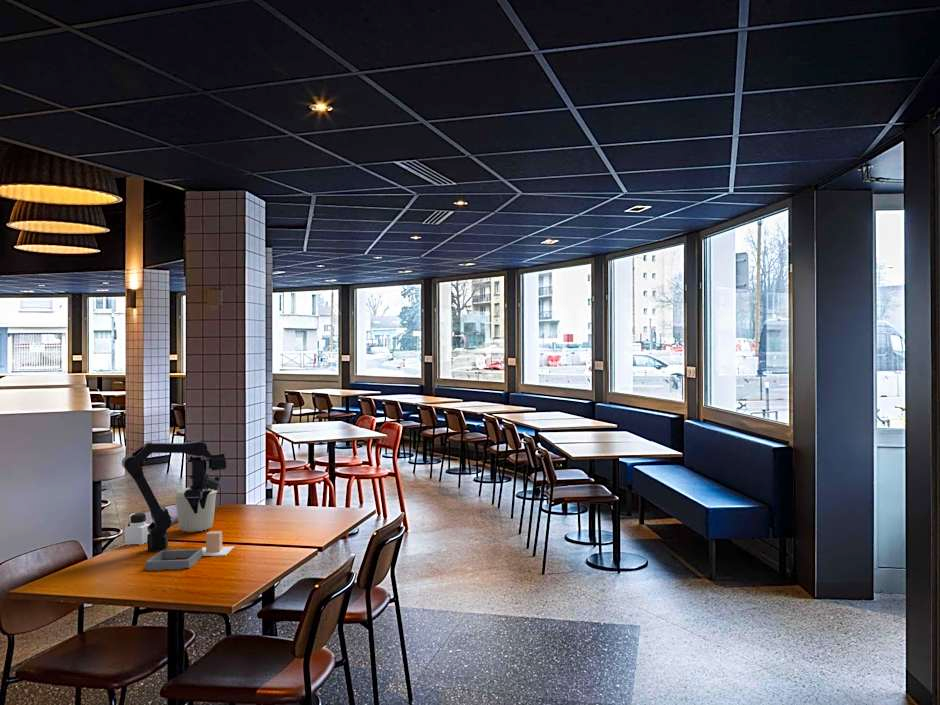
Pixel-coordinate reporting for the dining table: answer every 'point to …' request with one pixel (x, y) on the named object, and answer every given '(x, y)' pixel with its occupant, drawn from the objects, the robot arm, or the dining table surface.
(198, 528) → the canister
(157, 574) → the dining table surface
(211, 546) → the block
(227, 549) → the white flat square slab
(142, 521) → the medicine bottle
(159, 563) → the grey tray
